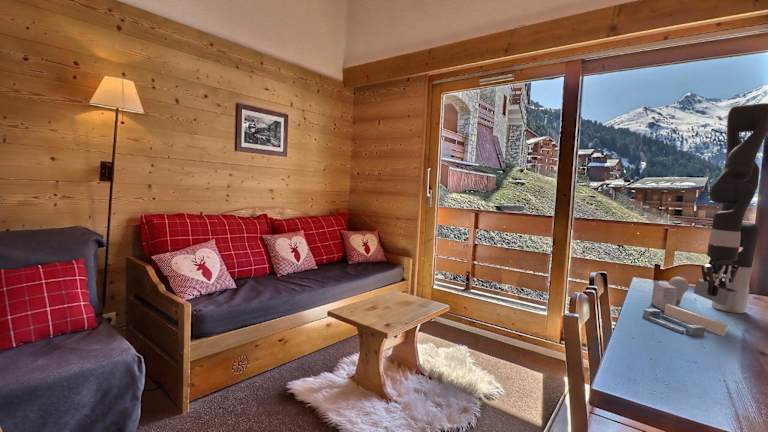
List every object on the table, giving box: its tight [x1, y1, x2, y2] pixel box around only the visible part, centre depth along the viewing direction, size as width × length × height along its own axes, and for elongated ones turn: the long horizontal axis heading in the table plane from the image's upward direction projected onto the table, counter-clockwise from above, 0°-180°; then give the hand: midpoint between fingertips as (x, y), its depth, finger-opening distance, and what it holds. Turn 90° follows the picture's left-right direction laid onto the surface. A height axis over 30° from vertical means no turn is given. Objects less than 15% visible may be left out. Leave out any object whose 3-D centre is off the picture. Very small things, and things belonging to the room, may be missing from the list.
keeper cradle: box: [642, 308, 706, 337], centre depth 122 cm, size 8×16×2 cm, turn 16°
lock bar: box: [693, 278, 738, 306], centre depth 126 cm, size 4×10×5 cm, turn 16°
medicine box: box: [651, 281, 678, 312], centre depth 140 cm, size 8×4×9 cm, turn 168°
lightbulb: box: [668, 276, 690, 306], centre depth 144 cm, size 6×6×11 cm
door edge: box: [663, 304, 728, 337], centre depth 124 cm, size 2×18×4 cm, turn 15°
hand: (715, 295), depth 126 cm, fingers closed on lock bar, 3 cm apart
